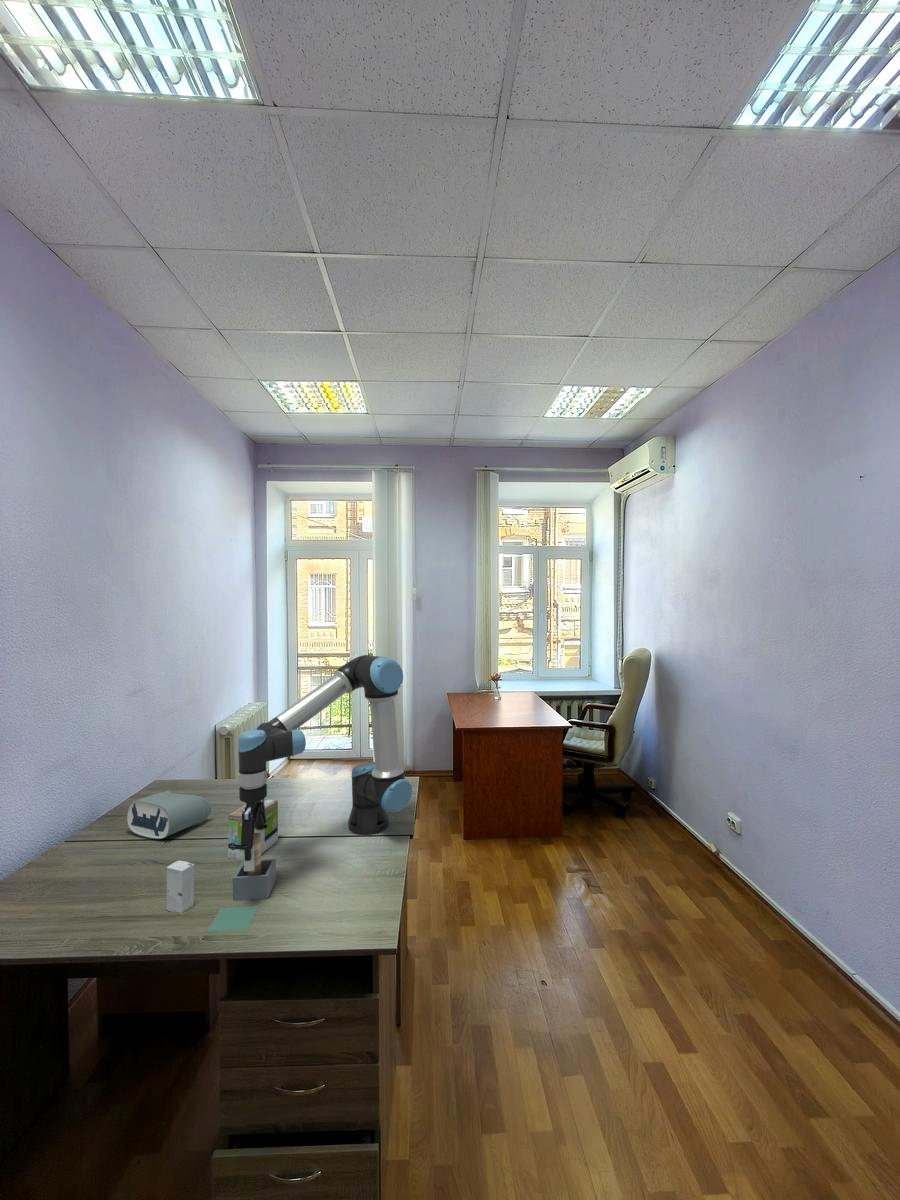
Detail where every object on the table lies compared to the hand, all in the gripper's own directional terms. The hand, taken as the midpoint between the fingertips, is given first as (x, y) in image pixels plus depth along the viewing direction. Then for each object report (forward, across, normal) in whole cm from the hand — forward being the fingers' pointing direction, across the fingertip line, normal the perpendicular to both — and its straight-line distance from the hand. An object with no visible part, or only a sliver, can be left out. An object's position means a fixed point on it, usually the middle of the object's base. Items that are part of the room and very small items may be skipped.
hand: (254, 860), depth 152 cm
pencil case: (+10, -48, -45) cm, 66 cm away
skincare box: (+10, +6, -18) cm, 22 cm away
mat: (+9, +13, -2) cm, 16 cm away
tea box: (+10, -27, -8) cm, 29 cm away
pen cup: (+9, 0, 0) cm, 9 cm away
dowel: (+9, 0, 0) cm, 9 cm away
